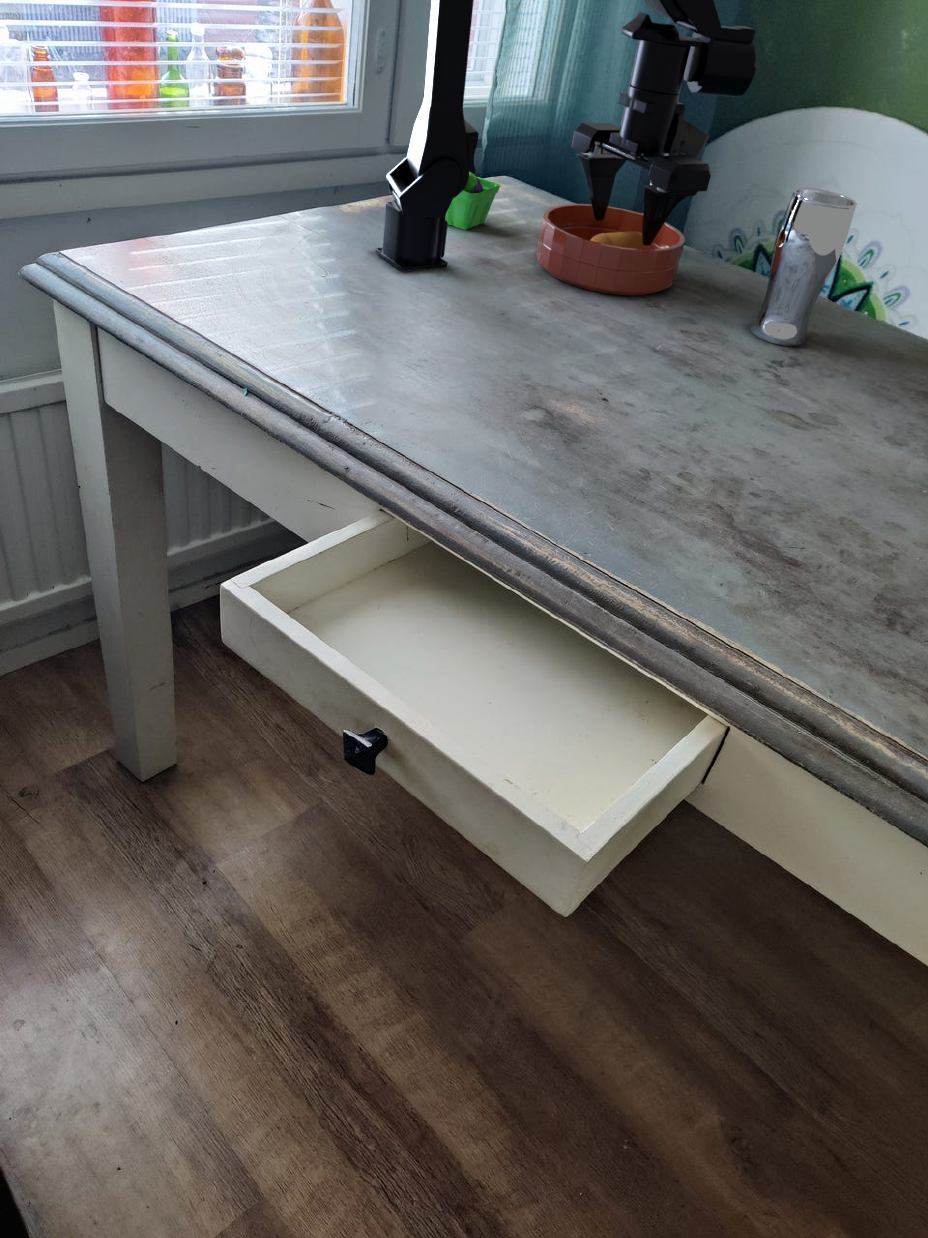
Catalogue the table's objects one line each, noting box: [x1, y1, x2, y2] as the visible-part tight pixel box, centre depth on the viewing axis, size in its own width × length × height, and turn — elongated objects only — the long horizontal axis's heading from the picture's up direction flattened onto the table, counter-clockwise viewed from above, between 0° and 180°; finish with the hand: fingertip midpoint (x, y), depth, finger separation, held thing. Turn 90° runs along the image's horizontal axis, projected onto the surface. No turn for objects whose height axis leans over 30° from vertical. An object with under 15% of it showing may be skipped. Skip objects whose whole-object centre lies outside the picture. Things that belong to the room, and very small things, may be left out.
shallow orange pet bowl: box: [535, 203, 686, 296], centre depth 116 cm, size 17×17×6 cm
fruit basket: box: [445, 171, 501, 231], centre depth 123 cm, size 11×9×11 cm
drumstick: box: [590, 231, 650, 249], centre depth 116 cm, size 12×4×4 cm, turn 122°
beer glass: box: [750, 187, 858, 347], centre depth 104 cm, size 7×7×15 cm
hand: (622, 232), depth 116 cm, fingers open, 9 cm apart
